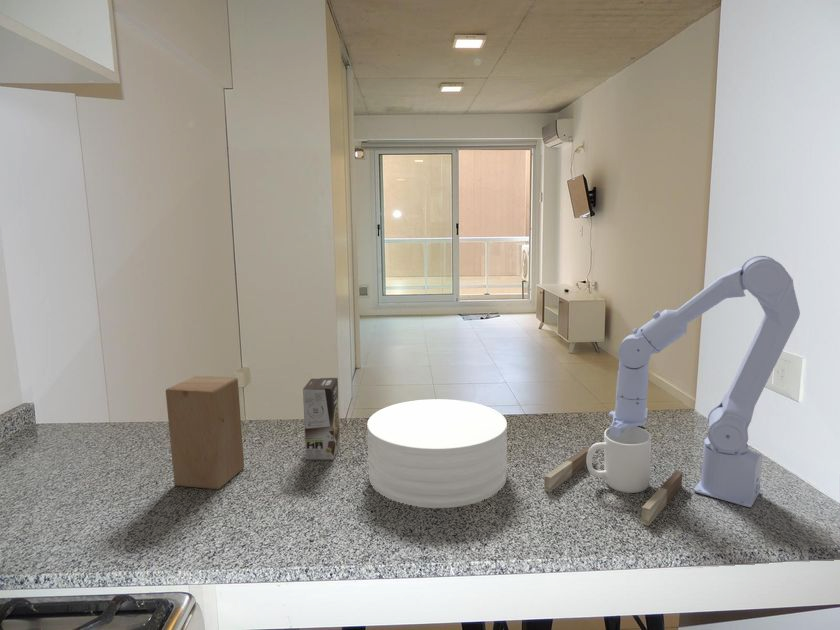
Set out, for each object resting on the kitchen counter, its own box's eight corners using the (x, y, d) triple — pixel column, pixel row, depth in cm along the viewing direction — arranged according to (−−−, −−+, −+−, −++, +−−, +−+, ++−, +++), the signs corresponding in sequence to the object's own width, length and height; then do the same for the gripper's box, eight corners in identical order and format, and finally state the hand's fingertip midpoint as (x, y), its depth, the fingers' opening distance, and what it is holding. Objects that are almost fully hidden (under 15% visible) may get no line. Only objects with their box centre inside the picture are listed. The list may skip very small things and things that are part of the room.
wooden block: (219, 490, 108) (211, 391, 104) (173, 486, 110) (164, 389, 106) (245, 468, 117) (238, 376, 114) (202, 464, 119) (195, 375, 116)
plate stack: (466, 439, 132) (466, 392, 130) (534, 490, 106) (535, 433, 104) (352, 460, 121) (350, 409, 119) (397, 522, 95) (395, 459, 94)
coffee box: (334, 460, 121) (331, 388, 118) (305, 460, 121) (301, 388, 118) (341, 443, 130) (338, 376, 127) (314, 443, 130) (310, 377, 127)
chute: (681, 486, 106) (682, 472, 105) (648, 526, 93) (649, 509, 92) (585, 459, 119) (586, 446, 118) (544, 490, 105) (544, 475, 105)
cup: (657, 491, 103) (658, 442, 101) (594, 498, 103) (593, 449, 101) (639, 468, 112) (639, 422, 109) (580, 474, 111) (579, 428, 109)
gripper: (625, 383, 117) (621, 443, 119) (596, 399, 106) (592, 465, 109) (660, 390, 112) (654, 452, 115) (632, 408, 102) (627, 477, 104)
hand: (626, 459), depth 112 cm, fingers closed, pressing on cup
